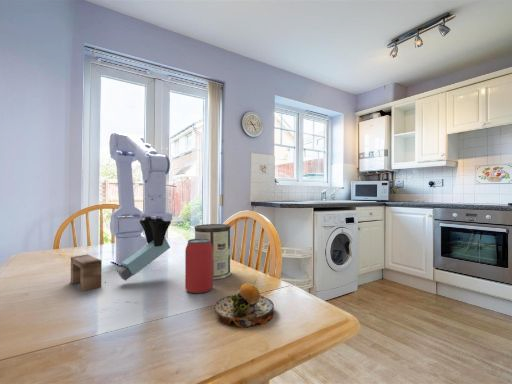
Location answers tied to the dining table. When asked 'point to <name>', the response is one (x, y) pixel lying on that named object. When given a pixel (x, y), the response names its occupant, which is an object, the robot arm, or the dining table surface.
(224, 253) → the coffee can
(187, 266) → the beer can
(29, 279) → the dining table surface
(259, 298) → the plated food dish
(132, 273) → the light blue pillar
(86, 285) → the brown block
